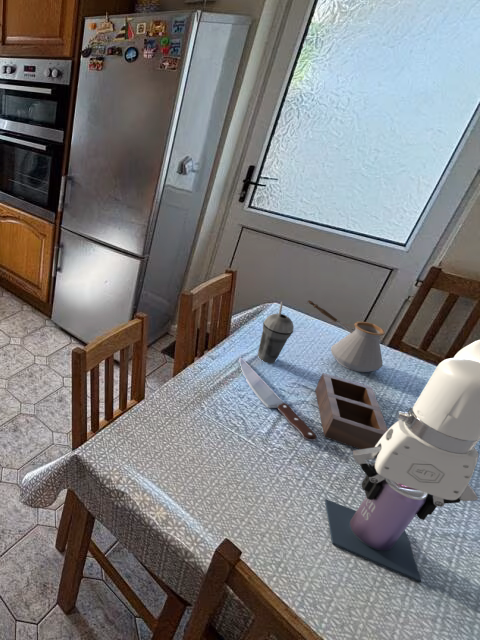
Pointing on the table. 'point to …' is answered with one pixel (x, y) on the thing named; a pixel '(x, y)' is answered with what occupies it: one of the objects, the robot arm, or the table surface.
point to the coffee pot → (357, 345)
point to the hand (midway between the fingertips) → (392, 501)
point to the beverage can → (386, 514)
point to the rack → (349, 412)
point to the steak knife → (274, 401)
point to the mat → (344, 538)
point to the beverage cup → (274, 336)
